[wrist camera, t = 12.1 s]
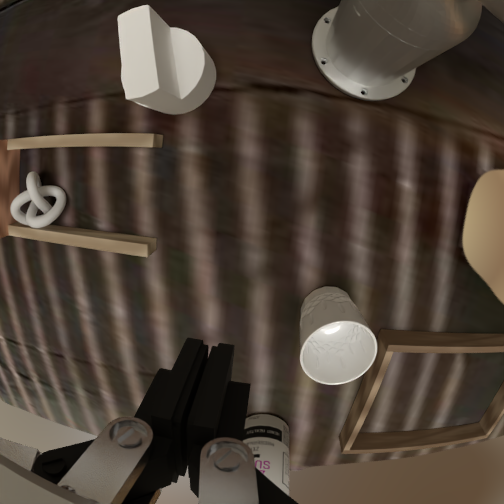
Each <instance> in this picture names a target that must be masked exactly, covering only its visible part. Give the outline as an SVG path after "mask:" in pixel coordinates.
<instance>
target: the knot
mask: <svg viewBox="0 0 504 504" xmlns="http://www.w3.org/2000/svg"><path fill="white" fill-rule="evenodd" d="M26 183H27V189H28V190H27V191H25V192H23V193H21V194H19V195H18V196H17V197H16V198H15V199H14V200H13V201H12V204H11V208H10V210H11V214H12V216H13V218H14V219H15V220H17V221H18V222H20V223H22V224H24V225H28V226H30V227H32V228H42V227H45V226H47V225H49V224H50V223H52V222H53V221H54V220H55V219H56V218H57V217H58V216H59V215H60V214H61V213H62V211H63V209H64V207H65V205H66V194H65V192H64V190H63V189H61V188H60V187H57V186H52V185H48V186H41V181H40V177H39V175H38V174H37V173H36V172H30V173H29V174H28V176H27V180H26ZM44 196H54V197H56V199H57V200H56V203H55V205H54V206H53V208H52V206H51V205H50V204H49V203H48V202H47V201H46V200H45V199H44V198H43V197H44ZM30 200H32V201H31V204H30V206H29V208H28V211H27V214H25V213H23V212H22V211H21V210H20V207H21V206H22V205H23V204H24V203H26V202H28V201H30ZM38 209H40V210H41V211H42V212H43V213H44V214H42V215H39V216H36V214H37V211H38Z"/></svg>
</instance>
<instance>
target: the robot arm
mask: <svg viewBox="0 0 504 504" xmlns="http://www.w3.org/2000/svg"><path fill="white" fill-rule="evenodd" d="M482 5H484V6H485V7H486V8H487V9H488V10H489V11H490V12H491V13H492V14H493V15H494V16H495V17H497V18H498V19H500V20H501V21H502V22H503V23H504V0H341V2H340V4H339V6H338V7H336V8H334V9H331V10H330V11H328V12H327V13H326V14H324V15H323V16H322V17H321V18H320V20H319V21H318V22H317V24H316V26H315V29H314V31H313V35H312V43H311V46H312V54H313V57H314V60H315V63H316V65H317V67H318V68H319V70H320V72H321V73H322V74H323V76H324V77H325V78H326V79H327V80H328V81H329V82H330V83H331V84H332V85H333V86H334V87H335V88H337V89H339V90H340V91H342V92H343V93H345V94H347V95H349V96H352V97H354V98H358V99H361V100H368V101H380V100H386V99H389V98H392V97H394V96H396V95H398V94H400V93H401V92H402V91H404V90H405V89H406V88H407V87H408V86H409V85H410V83H411V82H412V80H413V78H414V76H415V72H416V68H417V67H418V66H420V65H422V64H424V63H425V62H427V61H429V60H431V59H432V58H434V57H436V56H438V55H439V54H441V53H443V52H445V51H447V50H448V49H450V48H452V47H454V46H456V45H458V44H459V43H461V42H463V41H464V40H466V39H467V38H468V37H469V36H470V35H471V34H472V33H473V32H474V30H475V29H476V27H477V25H478V22H479V20H480V17H481V12H482ZM325 22H328V24H327V23H325ZM321 62H325V65H323V64H322V63H321ZM401 79H402V80H403V81H404V83H403V82H402V80H401ZM361 91H363V92H364V95H362V94H361ZM233 356H234V345H230V344H223V343H219V344H218V347H216V346H212V348H211V351H210V354H209V357H208V345H204V344H203V340H199V339H193V338H187V339H186V341H185V343H184V345H183V348H182V350H181V352H180V354H179V356H178V358H177V360H176V362H175V364H174V366H173V368H172V370H167V369H162V368H161V369H159V371H158V372H157V374H156V376H155V378H154V380H153V382H152V383H151V385H150V387H149V389H148V391H147V393H146V395H145V397H144V399H143V401H142V403H141V405H140V406H139V408H138V410H137V412H136V414H135V416H134V417H120V418H117V419H115V420H112V421H111V422H110V423H109V424H108V425H107V426H106V427H105V428H104V429H103V431H102V432H101V433H100V434H99V435H98V437H97V438H96V439H94V440H90V441H86V442H83V443H79V444H75V445H71V446H66V447H62V448H58V449H54V450H49V451H47V452H44V453H41V452H39V450H38V449H35V448H32V447H28V446H24V445H22V444H18V443H15V442H12V441H9V440H6V439H3V438H0V504H155V503H156V501H157V499H158V497H159V496H160V494H161V491H162V488H164V487H166V486H168V485H171V482H175V483H177V480H178V476H179V475H180V476H185V473H186V470H187V466H188V473H189V478H190V488H191V490H192V491H193V493H194V494H195V495H196V496H197V497H198V498H199V503H198V504H298V503H297V502H296V501H294V500H293V499H292V498H291V497H289V496H288V495H287V494H286V493H285V492H283V491H282V490H281V489H280V488H279V487H278V486H276V485H275V484H274V483H273V482H272V481H271V480H269V479H268V478H267V477H266V476H265V475H264V474H263V473H262V472H260V471H259V470H258V469H257V468H256V467H255V461H254V455H253V452H252V450H251V449H250V447H249V446H248V445H247V444H245V443H244V442H243V436H244V428H245V421H246V414H247V406H248V399H249V391H250V384H248V383H241V382H234V381H231V375H232V366H233Z"/></svg>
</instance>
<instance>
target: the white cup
mask: <svg viewBox="0 0 504 504" xmlns="http://www.w3.org/2000/svg"><path fill="white" fill-rule="evenodd" d="M376 354H377V341H376V338H375V336H374V334H373V333H372V331H371V329H370V327H369V326H368V324H367V322H366V321H365V319H364V317H363V315H362V314H361V313H360V311H359V309H358V308H357V306H356V305H355V304H354V303H353V302H352V300H351V299H350V297H349V295H348V294H347V293H346V292H345V291H343V290H341V289H339V288H338V287H328V286H325V287H322V288H319V289H316V290H313V291H312V292H311V293H310V294H309V295H308V296H307V297H306V298H305V299H304V302H303V304H302V307H301V319H300V362H301V366H302V368H303V370H304V372H305V373H306V374H307V375H308V376H309V377H310V378H311V379H313V380H315V381H317V382H319V383H323V384H329V385H337V384H343V383H347V382H350V381H353V380H355V379H357V378H358V377H360V376H361V375H363V374H364V373H365V372H366V371H367V370H368V369H369V368H370V366H371V365H372V364H373V362H374V360H375V357H376Z"/></svg>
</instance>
